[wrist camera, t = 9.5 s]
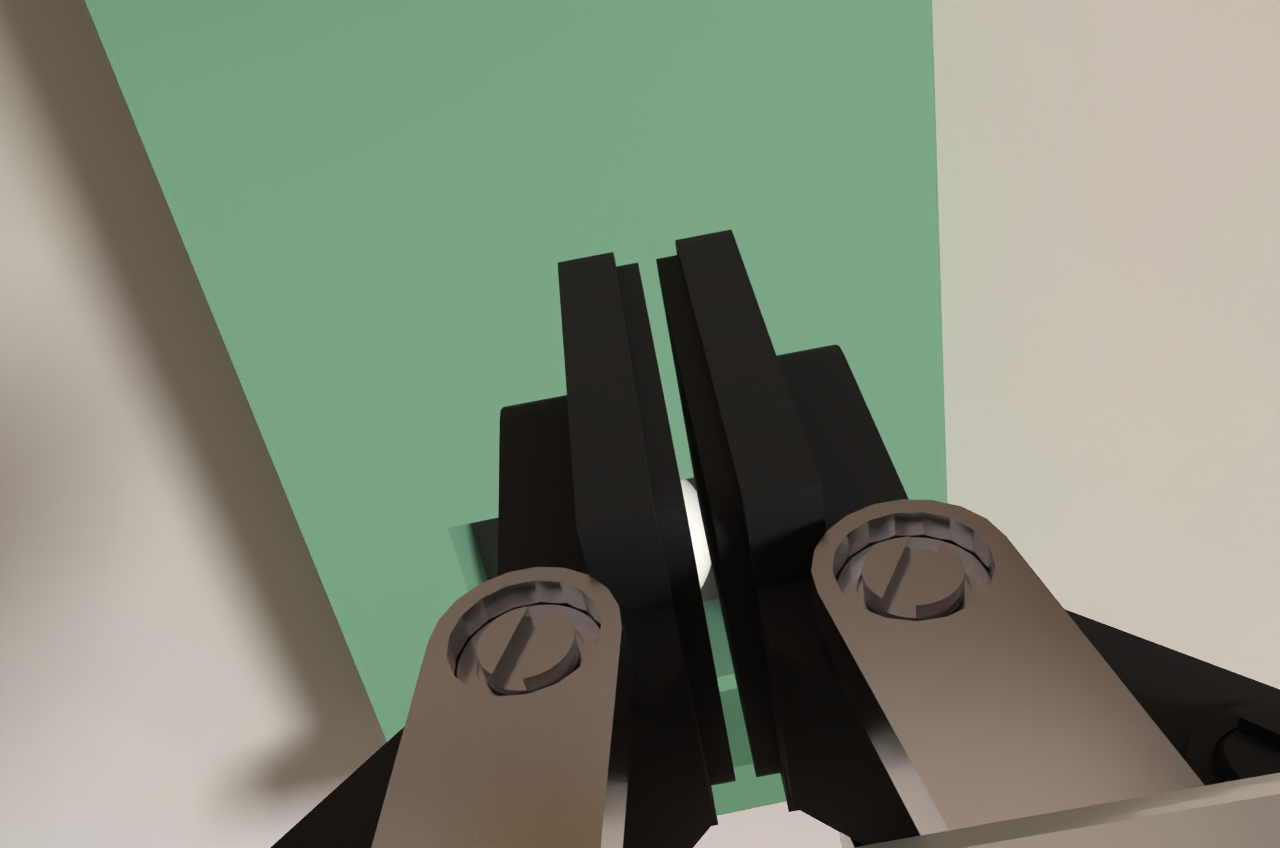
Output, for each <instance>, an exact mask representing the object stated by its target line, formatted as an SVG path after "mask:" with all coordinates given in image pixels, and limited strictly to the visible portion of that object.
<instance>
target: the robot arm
mask: <svg viewBox="0 0 1280 848" xmlns="http://www.w3.org/2000/svg"><path fill="white" fill-rule="evenodd" d="M675 245H676V253H677V255H675V256H669V257H664V258H659V259H656V263H657V269H658V275H659V281H660V286H661V292H662V298H663V304H664V309H665V315H666V321H667V326H668V332H669V338H670V344H671V349H672V355H673V361H674V366H675V372H676V378H677V383H678V389H679V395H680V401H681V406H682V412H683V418H684V423H685V429H686V435H687V441H688V446H689V452H690V458H691V463H692V469H693V475H694V480H695V486H696V491H697V497H698V502H699V507H700V512H701V517H702V522H703V526H704V531H705V536H706V541H707V545H708V550H709V555H710V560H711V564H712V569H713V574H714V579H715V584H716V588H717V593H718V598H719V603H720V607H721V612H722V617H723V622H724V626H725V631H726V636H727V641H728V646H729V650H730V655H731V660H732V665H733V669H734V674H735V679H736V684H737V688H738V693H739V698H740V703H741V708H742V712H743V717H744V722H745V727H746V731H747V736H748V741H749V746H750V750H751V755H752V760H753V765H754V769H755V774H756V777H761V776H767V775H772V774H778V773H780V775H781V779H782V783H783V788H784V792H785V796H786V801H787V805H788V809H789V812H791V811H796V810H801V811H803V812H804V813H806V814H808V815H810V816H812V817H814V818H815V819H817V820H819V821H821V822H823V823H824V824H826V825H828V826H830V827H832V828H833V829H835V830H837V831H839V832H840V840H841V844H842V848H1280V690H1279V689H1277V688H1274V687H1271V686H1269V685H1266V684H1263V683H1261V682H1258V681H1255V680H1252V679H1250V678H1247V677H1244V676H1242V675H1239V674H1236V673H1234V672H1231V671H1228V670H1226V669H1223V668H1220V667H1218V666H1215V665H1212V664H1210V663H1207V662H1204V661H1202V660H1199V659H1196V658H1194V657H1191V656H1188V655H1185V654H1183V653H1180V652H1177V651H1175V650H1172V649H1169V648H1167V647H1164V646H1161V645H1159V644H1156V643H1153V642H1151V641H1148V640H1145V639H1143V638H1140V637H1137V636H1135V635H1132V634H1129V633H1126V632H1124V631H1121V630H1118V629H1116V628H1113V627H1110V626H1108V625H1105V624H1102V623H1100V622H1097V621H1094V620H1092V619H1089V618H1086V617H1084V616H1081V615H1078V614H1076V613H1073V612H1070V611H1067V610H1065V609H1064V608H1063V607H1062V606H1061V605H1060V603H1059V602H1058V601H1057V600H1056V598H1055V597H1054V596H1053V595H1052V593H1051V592H1050V591H1049V590H1048V588H1047V587H1046V586H1045V585H1044V583H1043V582H1042V581H1041V580H1040V578H1039V577H1038V576H1037V575H1036V573H1035V572H1034V571H1033V570H1032V568H1031V567H1030V566H1029V565H1028V563H1027V562H1026V561H1025V560H1024V558H1023V557H1022V556H1021V555H1020V553H1019V552H1018V551H1017V549H1016V548H1015V547H1014V546H1013V544H1012V543H1011V542H1010V541H1009V539H1008V538H1007V537H1006V536H1005V535H1004V534H1003V533H1002V532H1001V531H1000V530H998V529H997V528H996V527H995V526H994V525H993V524H992V523H991V522H990V521H988V520H987V519H986V518H984V517H982V516H980V515H978V514H976V513H973V512H971V511H969V510H967V509H965V508H963V507H961V506H957V505H952V504H948V503H943V502H939V501H934V500H910V499H908V496H907V494H906V492H905V490H904V487H903V485H902V483H901V481H900V478H899V476H898V474H897V472H896V469H895V467H894V465H893V463H892V460H891V458H890V456H889V454H888V451H887V449H886V447H885V445H884V443H883V440H882V438H881V436H880V434H879V431H878V429H877V427H876V425H875V422H874V420H873V418H872V416H871V413H870V411H869V409H868V407H867V404H866V402H865V400H864V398H863V395H862V393H861V391H860V389H859V386H858V384H857V382H856V380H855V378H854V375H853V373H852V371H851V369H850V366H849V364H848V362H847V360H846V357H845V355H844V353H843V351H842V350H841V348H840V346H838V345H836V344H835V345H830V346H824V347H819V348H814V349H808V350H803V351H798V352H792V353H787V354H782V355H776V353H775V350H774V347H773V345H772V342H771V339H770V336H769V333H768V330H767V328H766V325H765V322H764V319H763V316H762V314H761V311H760V308H759V305H758V302H757V299H756V297H755V294H754V291H753V288H752V285H751V283H750V280H749V277H748V274H747V271H746V268H745V266H744V263H743V260H742V257H741V254H740V252H739V249H738V246H737V243H736V240H735V237H734V235H733V232H732V230H725V231H720V232H715V233H710V234H704V235H699V236H694V237H689V238H683V239H678V240H675ZM558 277H559V291H560V305H561V319H562V333H563V347H564V361H565V375H566V389H567V395H564V396H559V397H553V398H548V399H543V400H538V401H532V402H527V403H522V404H516V405H511V406H506V407H503V408H502V409H501V412H500V438H499V512H498V577H495V578H493V579H491V580H488V581H486V582H483V583H481V584H479V585H478V586H476V587H475V588H473V589H472V590H470V591H469V592H467V593H466V594H465V595H463V596H462V597H460V598H459V599H457V600H456V601H455V602H454V603H453V604H452V606H451V607H450V608H449V609H448V610H447V611H446V612H445V613H444V614H443V615H442V617H441V618H440V619H439V620H438V622H437V624H436V626H435V628H434V630H433V632H432V634H431V637H430V639H429V641H428V643H427V647H426V650H425V654H424V658H423V661H422V665H421V669H420V672H419V676H418V680H417V683H416V687H415V690H414V694H413V698H412V701H411V705H410V709H409V712H408V716H407V720H406V723H405V726H404V727H403V728H402V729H401V730H400V731H399V732H398V733H397V734H396V735H394V736H393V737H392V738H391V739H390V740H389V741H388V742H387V743H386V744H385V745H383V746H382V747H381V748H380V749H379V750H378V751H377V752H376V753H375V754H373V755H372V756H371V757H370V758H369V759H368V760H367V761H366V762H365V763H364V764H362V765H361V766H360V767H359V768H358V769H357V770H356V771H355V772H354V773H353V774H351V775H350V776H349V777H348V778H347V779H346V780H345V781H344V782H343V783H341V784H340V785H339V786H338V787H337V788H336V789H335V790H334V791H333V792H332V793H330V794H329V795H328V796H327V797H326V798H325V799H324V800H323V801H322V802H321V803H319V804H318V805H317V806H316V807H315V808H314V809H313V810H312V811H311V812H309V813H308V814H307V815H306V816H305V817H304V818H303V819H302V820H301V821H300V822H298V823H297V824H296V825H295V826H294V827H293V828H292V829H291V830H290V831H289V832H287V833H286V834H285V835H284V836H283V837H282V838H281V839H280V840H279V841H277V842H276V843H275V844H274V845H273V846H272V847H271V848H693V847H694V846H695V844H696V843H697V842H698V841H699V840H700V838H701V837H702V836H703V835H704V834H705V832H706V831H707V830H708V829H709V828H710V826H713V825H718V821H717V815H716V809H715V804H714V798H713V792H712V785H717V784H723V783H728V782H734V781H736V779H735V773H734V768H733V762H732V757H731V751H730V746H729V740H728V735H727V730H726V724H725V719H724V713H723V708H722V702H721V697H720V691H719V686H718V681H717V675H716V670H715V664H714V659H713V653H712V648H711V643H710V637H709V632H708V626H707V621H706V615H705V610H704V604H703V599H702V594H701V588H700V583H699V577H698V572H697V566H696V561H695V555H694V550H693V545H692V539H691V534H690V528H689V523H688V518H687V512H686V507H685V502H684V497H683V491H682V486H681V481H680V476H679V471H678V466H677V460H676V455H675V450H674V445H673V440H672V435H671V430H670V424H669V419H668V414H667V409H666V404H665V399H664V393H663V388H662V383H661V378H660V373H659V368H658V363H657V357H656V352H655V347H654V342H653V337H652V332H651V327H650V321H649V316H648V311H647V306H646V301H645V296H644V291H643V285H642V280H641V275H640V270H639V265H638V263H633V264H627V265H622V266H617V267H616V262H615V257H614V253H613V252H610V253H605V254H600V255H594V256H589V257H584V258H579V259H573V260H568V261H563V262H558Z"/></svg>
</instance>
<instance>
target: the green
mask: <svg viewBox="0 0 1280 848" xmlns="http://www.w3.org/2000/svg"><path fill="white" fill-rule="evenodd" d="M85 3H86V5H87V8H88V10H89V13H90V15H91V17H92V20H93V22H94V25H95V27H96V30H97V32H98V35H99V37H100V40H101V42H102V44H103V47H104V49H105V52H106V54H107V57H108V59H109V62H110V64H111V67H112V69H113V71H114V74H115V76H116V79H117V81H118V84H119V86H120V89H121V91H122V94H123V96H124V98H125V101H126V103H127V106H128V108H129V111H130V113H131V116H132V118H133V121H134V123H135V125H136V128H137V130H138V133H139V135H140V138H141V140H142V143H143V145H144V148H145V150H146V152H147V155H148V157H149V160H150V162H151V165H152V167H153V170H154V172H155V174H156V177H157V179H158V182H159V184H160V187H161V189H162V192H163V194H164V197H165V199H166V201H167V204H168V206H169V209H170V211H171V214H172V216H173V219H174V221H175V224H176V226H177V228H178V231H179V233H180V236H181V238H182V241H183V243H184V246H185V248H186V251H187V253H188V255H189V258H190V260H191V263H192V265H193V268H194V270H195V273H196V275H197V278H198V280H199V282H200V285H201V287H202V290H203V292H204V295H205V297H206V300H207V302H208V305H209V307H210V309H211V312H212V314H213V317H214V319H215V322H216V324H217V327H218V329H219V332H220V334H221V336H222V339H223V341H224V344H225V346H226V349H227V351H228V354H229V356H230V358H231V361H232V363H233V366H234V368H235V371H236V373H237V376H238V378H239V381H240V383H241V385H242V388H243V390H244V393H245V395H246V398H247V400H248V403H249V405H250V408H251V410H252V412H253V415H254V417H255V420H256V422H257V425H258V427H259V430H260V432H261V435H262V437H263V439H264V442H265V444H266V447H267V449H268V452H269V454H270V457H271V459H272V462H273V464H274V466H275V469H276V471H277V474H278V476H279V479H280V481H281V484H282V486H283V489H284V491H285V493H286V496H287V498H288V501H289V503H290V506H291V508H292V511H293V513H294V516H295V518H296V520H297V523H298V525H299V528H300V530H301V533H302V535H303V538H304V540H305V542H306V545H307V547H308V550H309V552H310V555H311V557H312V560H313V562H314V565H315V567H316V569H317V572H318V574H319V577H320V579H321V582H322V584H323V587H324V589H325V592H326V594H327V596H328V599H329V601H330V604H331V606H332V609H333V611H334V614H335V616H336V619H337V621H338V623H339V626H340V628H341V631H342V633H343V636H344V638H345V641H346V643H347V646H348V648H349V650H350V653H351V655H352V658H353V660H354V663H355V665H356V668H357V670H358V673H359V675H360V677H361V680H362V682H363V685H364V687H365V690H366V692H367V695H368V697H369V699H370V702H371V704H372V707H373V709H374V712H375V714H376V717H377V719H378V722H379V724H380V726H381V729H382V731H383V734H384V736H385V739H386V741H387V742H388V741H389V740H390V739H391V738H392V737H393V736H394V735H396V734H397V733H398V732H399V731H400V730H401V729H402V728H403V727H404V726H405V723H406V720H407V716H408V712H409V709H410V705H411V701H412V698H413V694H414V690H415V687H416V683H417V680H418V676H419V672H420V669H421V665H422V661H423V658H424V654H425V650H426V647H427V643H428V641H429V639H430V637H431V634H432V632H433V630H434V628H435V626H436V624H437V622H438V620H439V619H440V618H441V617H442V615H443V614H444V613H445V612H446V611H447V610H448V609H449V608H450V607H451V606H452V604H453V603H454V602H455V601H456V600H457V599H459V598H460V597H462V596H463V595H465V594H466V593H467V592H469V591H470V590H472V589H473V588H475V587H476V586H478V585H479V584H481V583H483V582H486V581H488V580H491V579H493V578H495V577H498V512H499V438H500V412H501V409H502V408H503V407H506V406H511V405H516V404H522V403H527V402H532V401H538V400H543V399H548V398H553V397H559V396H564V395H567V389H566V375H565V361H564V347H563V333H562V319H561V305H560V291H559V277H558V262H563V261H568V260H573V259H579V258H584V257H589V256H594V255H600V254H605V253H610V252H613V253H614V257H615V262H616V267H617V266H622V265H627V264H633V263H638V265H639V270H640V275H641V280H642V285H643V291H644V296H645V301H646V306H647V311H648V316H649V321H650V327H651V332H652V337H653V342H654V347H655V352H656V357H657V363H658V368H659V373H660V378H661V383H662V388H663V393H664V399H665V404H666V409H667V414H668V419H669V424H670V430H671V435H672V440H673V445H674V450H675V455H676V460H677V466H678V471H679V476H680V480H684V479H686V480H687V481H688V482H689V483H690V484H691V485H692V486H693V487H694V489H695V490H696V486H695V480H694V475H693V469H692V463H691V458H690V452H689V446H688V441H687V435H686V429H685V423H684V418H683V412H682V406H681V401H680V395H679V389H678V383H677V378H676V372H675V366H674V361H673V355H672V349H671V344H670V338H669V332H668V326H667V321H666V315H665V309H664V304H663V298H662V292H661V286H660V281H659V275H658V269H657V263H656V259H659V258H664V257H669V256H675V255H677V253H676V245H675V240H678V239H683V238H689V237H694V236H699V235H704V234H710V233H715V232H720V231H725V230H732V232H733V235H734V237H735V240H736V243H737V246H738V249H739V252H740V254H741V257H742V260H743V263H744V266H745V268H746V271H747V274H748V277H749V280H750V283H751V285H752V288H753V291H754V294H755V297H756V299H757V302H758V305H759V308H760V311H761V314H762V316H763V319H764V322H765V325H766V328H767V330H768V333H769V336H770V339H771V342H772V345H773V347H774V350H775V353H776V355H782V354H787V353H792V352H798V351H803V350H808V349H814V348H819V347H824V346H830V345H835V344H836V345H838V346H840V348H841V350H842V351H843V353H844V355H845V357H846V360H847V362H848V364H849V366H850V369H851V371H852V373H853V375H854V378H855V380H856V382H857V384H858V386H859V389H860V391H861V393H862V395H863V398H864V400H865V402H866V404H867V407H868V409H869V411H870V413H871V416H872V418H873V420H874V422H875V425H876V427H877V429H878V431H879V434H880V436H881V438H882V440H883V443H884V445H885V447H886V449H887V451H888V454H889V456H890V458H891V460H892V463H893V465H894V467H895V469H896V472H897V474H898V476H899V478H900V481H901V483H902V485H903V487H904V490H905V492H906V494H907V496H908V499H910V500H934V501H939V502H943V503H947V479H946V447H945V414H944V381H943V349H942V316H941V283H940V250H939V218H938V185H937V152H936V119H935V87H934V54H933V21H932V0H85ZM701 594H702V599H703V604H704V610H705V615H706V621H707V626H708V632H709V637H710V643H711V648H712V653H713V659H714V664H715V670H716V675H717V681H718V686H719V691H720V697H721V702H722V708H723V713H724V719H725V724H726V730H727V735H728V740H729V746H730V751H731V757H732V762H733V768H734V773H735V779H736V781H734V782H728V783H723V784H717V785H712V792H713V798H714V804H715V809H716V815H722V814H726V813H731V812H736V811H741V810H746V809H751V808H755V807H760V806H765V805H770V804H775V803H779V802H784V801H786V796H785V792H784V788H783V783H782V779H781V775H780V773H778V774H772V775H767V776H761V777H756V774H755V769H754V765H753V760H752V755H751V750H750V746H749V741H748V736H747V731H746V727H745V722H744V717H743V712H742V708H741V703H740V698H739V693H738V688H737V684H736V679H735V674H734V669H733V665H732V660H731V655H730V650H729V646H728V641H727V636H726V631H725V626H724V622H723V617H722V612H721V607H720V603H719V598H718V593H717V588H716V584H715V579H714V574H713V569H712V564H711V566H710V570H709V573H708V576H707V578H706V580H705V582H704V585H703V586H702V588H701Z"/></svg>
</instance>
